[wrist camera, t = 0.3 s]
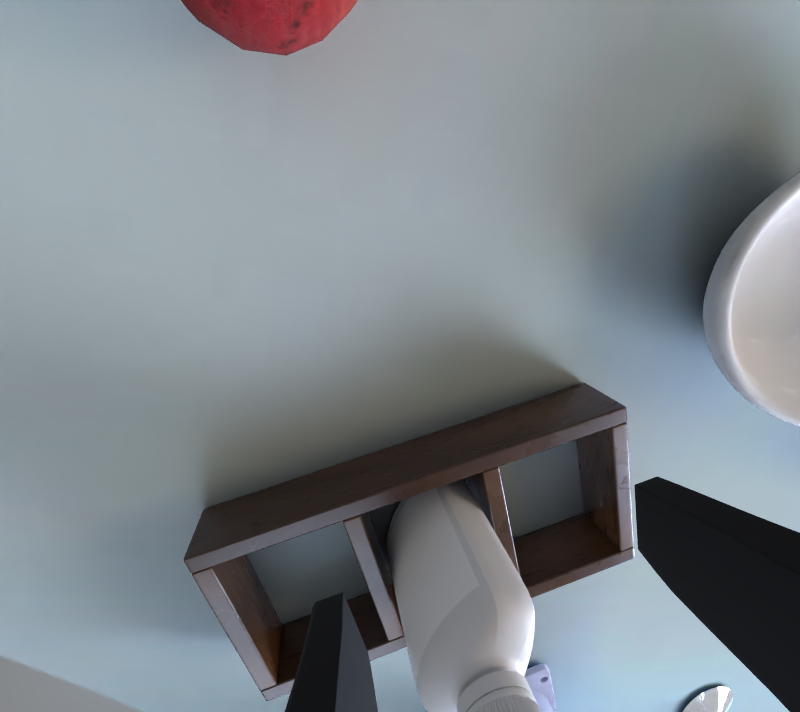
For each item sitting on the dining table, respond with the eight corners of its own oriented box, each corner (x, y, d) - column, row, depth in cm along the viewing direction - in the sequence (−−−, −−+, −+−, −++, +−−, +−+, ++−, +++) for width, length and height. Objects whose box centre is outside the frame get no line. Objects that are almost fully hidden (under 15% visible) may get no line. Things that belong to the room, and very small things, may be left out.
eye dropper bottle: (356, 521, 20) (405, 892, 9) (445, 455, 20) (610, 747, 9) (404, 568, 22) (499, 935, 10) (487, 508, 21) (674, 813, 10)
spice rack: (597, 518, 23) (635, 558, 21) (272, 640, 21) (266, 702, 19) (584, 381, 20) (627, 406, 17) (202, 508, 18) (181, 560, 15)
